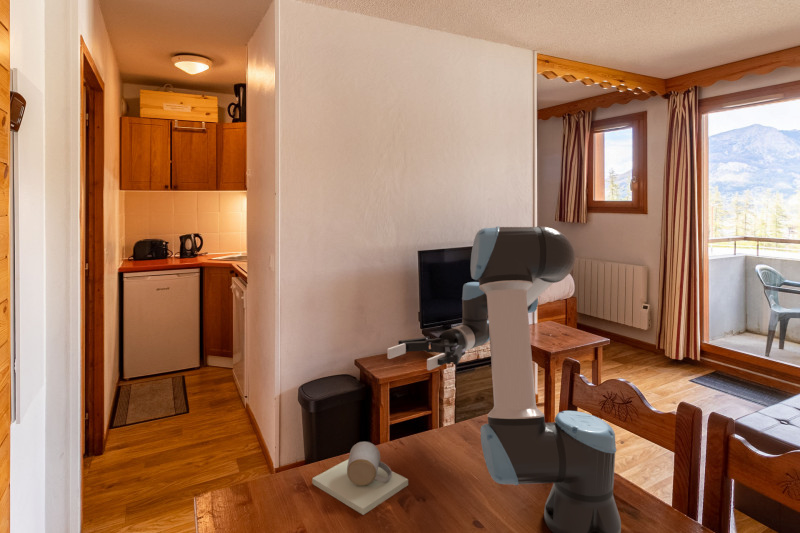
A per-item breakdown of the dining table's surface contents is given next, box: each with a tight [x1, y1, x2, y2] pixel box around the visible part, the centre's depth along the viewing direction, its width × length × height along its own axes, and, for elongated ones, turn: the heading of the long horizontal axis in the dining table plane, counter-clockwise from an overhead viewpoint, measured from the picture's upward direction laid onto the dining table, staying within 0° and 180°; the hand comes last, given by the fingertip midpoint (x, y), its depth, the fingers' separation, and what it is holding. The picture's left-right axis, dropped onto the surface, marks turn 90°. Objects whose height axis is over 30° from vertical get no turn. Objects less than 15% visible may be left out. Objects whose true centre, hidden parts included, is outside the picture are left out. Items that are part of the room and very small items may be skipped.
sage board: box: [311, 458, 409, 516], centre depth 117 cm, size 18×15×2 cm
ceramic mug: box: [347, 441, 392, 486], centre depth 116 cm, size 11×8×8 cm
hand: (407, 359), depth 124 cm, fingers open, 13 cm apart
